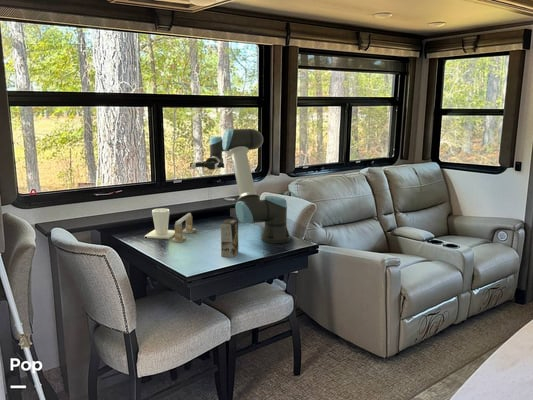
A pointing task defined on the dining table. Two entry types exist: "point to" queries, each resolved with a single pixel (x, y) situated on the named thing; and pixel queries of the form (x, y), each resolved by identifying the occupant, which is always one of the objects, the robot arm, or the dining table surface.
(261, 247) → the dining table surface
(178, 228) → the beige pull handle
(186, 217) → the steel bar
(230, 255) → the coffee box
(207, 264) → the dining table surface
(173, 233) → the cream pad
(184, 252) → the dining table surface
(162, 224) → the foam cup
